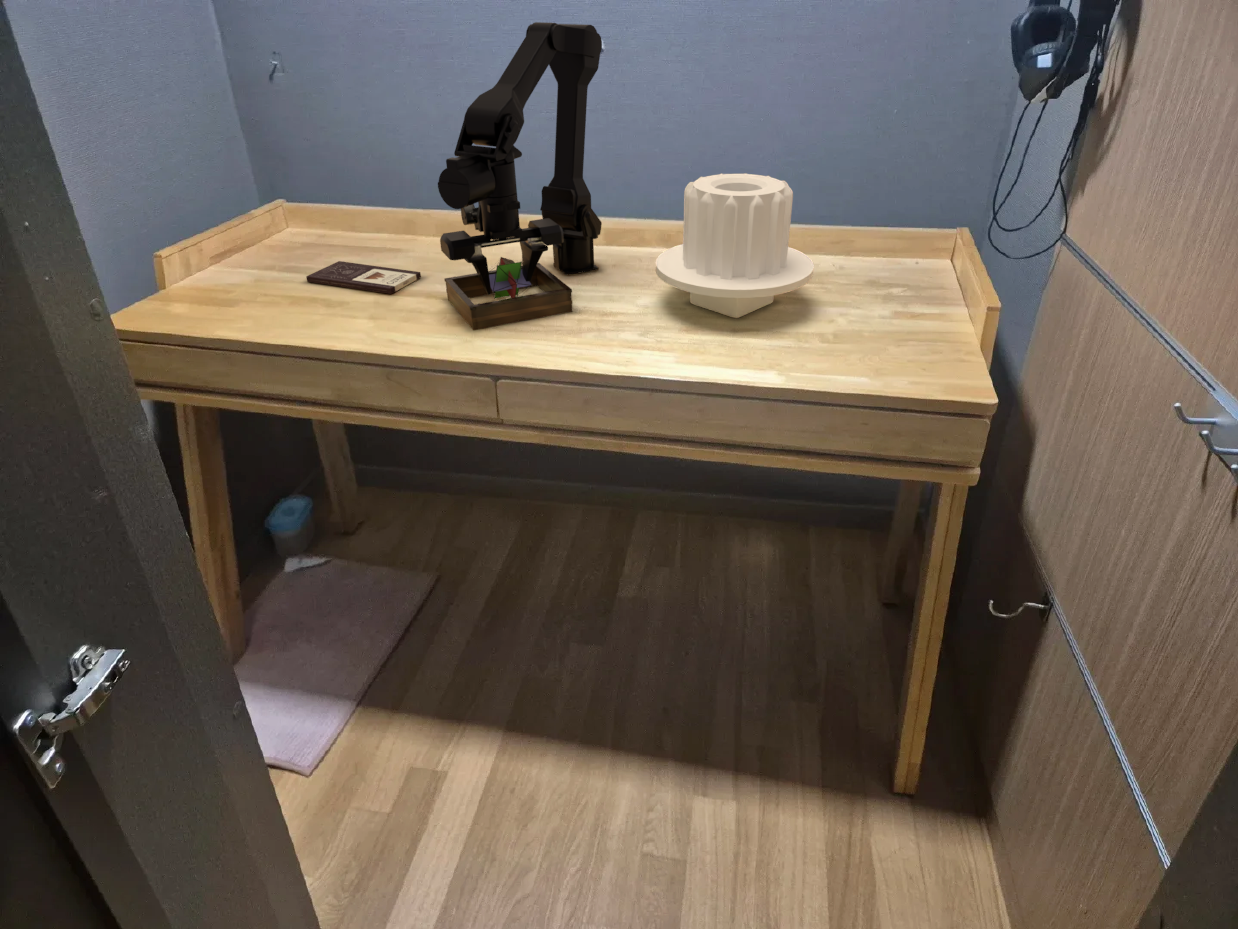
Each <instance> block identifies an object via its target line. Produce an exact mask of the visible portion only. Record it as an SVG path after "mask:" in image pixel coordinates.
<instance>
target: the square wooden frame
mask: <svg viewBox="0 0 1238 929" xmlns="http://www.w3.org/2000/svg"><path fill="white" fill-rule="evenodd" d="M521 269H522V265H521ZM489 271H490V272H489ZM489 271H488V272H489V275H490V274H496V269H492V270H489ZM530 282H531V284H532V286H528V287H529V288H534V287H535V288H536V287H538V288H539V289H541V290H542V291H543V292H538V293H532V294H525V295H521V296H516V297H514V298H511V297H510V298H506V299H505V298H503V299H499V300H498V299H497V300H493V301H492V300H491V301H486V302H481V303H474V302H473V301H472V300H471V299H470V298H476V297H477V298H478V297H482V296H489V295H488V294H487V293H486V291H485V289H484V287H483V284H482V282H481V280H480V278H479V276H478V274H477V272H475V273H469V274H463V275H457V276H452V277H445V278H444V283H445V288H446V290H445V291H446V292H445V293H446V295H447V300H448V302H449V303H450V304H451V305H452V307H453V308H454V309H455V310H456V312H458V314H459V315H460V316H461V317H462V318H463V320H464V321H465V322H466V323H467V325H468V326H469V327H470V328H471V329H472V331H477V330H483V329H487V328H492V327H499V326H504V325H508V324H509V325H510V324H514V323H519V322H523V321H530V320H535V319H540V318H545V317H551V316H555V315H561V314H565V313H566V314H567V313H572V312H573V299H572V298H573V297H572V293H573V289H572V288H571V287H570V286H569V285H567V284H566V283H565V282H563V281H562V280H561V279H560V278H558V277H557V276H556V275H555V274H553V272H551V271H550V270H549V269H548V268H546V267H545V266H544V265H543V264H541V263H540V262H538V263H537V265H536V267H535V270H534V273H533V275H532V278H531V281H530ZM522 289H523V290H524V289H526V288H525V287H519V290H522ZM490 295H495V292H494V294H493V291H492V289H491V294H490Z"/></svg>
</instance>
